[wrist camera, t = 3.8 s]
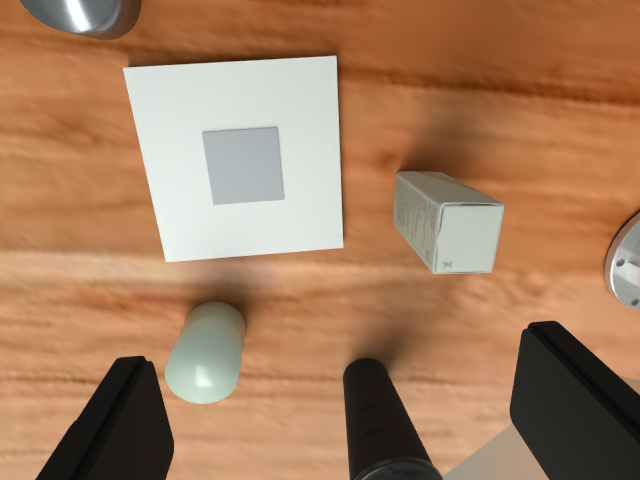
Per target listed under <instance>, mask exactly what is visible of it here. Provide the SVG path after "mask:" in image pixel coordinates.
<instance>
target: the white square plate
mask: <svg viewBox="0 0 640 480" xmlns="http://www.w3.org/2000/svg"><path fill="white" fill-rule="evenodd" d="M123 71H124V75H125V80H126V84H127V89H128V93H129V98H130V102H131V107H132V111H133V116H134V120H135V125H136V129H137V134H138V138H139V142H140V147H141V151H142V156H143V160H144V165H145V169H146V174H147V178H148V183H149V187H150V192H151V196H152V201H153V205H154V210H155V214H156V219H157V223H158V227H159V232H160V236H161V241H162V245H163V250H164V254H165V259H166V262H176V261H188V260H200V259H212V258H225V257H237V256H249V255H261V254H273V253H285V252H297V251H309V250H321V249H333V248H343V226H342V198H341V171H340V143H339V115H338V87H337V59H336V56H324V57H307V58H289V59H271V60H253V61H236V62H218V63H200V64H182V65H164V66H147V67H129V68H123Z"/></svg>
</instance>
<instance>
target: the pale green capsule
mask: <svg viewBox="0 0 640 480" xmlns="http://www.w3.org/2000/svg"><path fill="white" fill-rule="evenodd" d="M245 334H246V323H245V320H244V318H243V316H242V314H241V313H240V312H239V311H238V310H237V309H236V308H234V307H233V306H231V305H229V304H226V303H223V302H206V303H203V304H200V305H198V306H196V307H195V308H194V309H192V310H191V311H190V313H189V314H188V316H187V318H186V320H185V323H184V325H183V327H182V330H181V332H180V334H179V337H178V339H177V341H176V344H175V346H174V349H173V351H172V353H171V356H170V358H169V360H168V363H167V365H166V368H165V379H166V382H167V384H168V386H169V388H170V389H171V390H172V391H173V392H174V393H175V394H176V395H177V396H179V397H180V398H182V399H184V400H186V401H189V402H193V403H201V404H205V403H213V402H217V401H219V400H222V399H224V398H225V397H227V396H228V395H229V394H230V393H231V392H232V391H233V390H234V388H235V387H236V385H237V382H238V377H239V371H240V364H241V358H242V352H243V346H244V340H245Z"/></svg>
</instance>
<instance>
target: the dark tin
mask: <svg viewBox="0 0 640 480" xmlns="http://www.w3.org/2000/svg"><path fill="white" fill-rule="evenodd" d="M20 2H21V3H22V4H23V6H24V7H25V8H26V9H27V10H28V11H29V12H30V13H31V14H32V15H33V16H34V17H35V18H37V19H38V20H39V21H41V22H42V23H44V24H46V25H48V26H50V27H52V28H54V29H57V30H61V31H65V32H69V33H73V34H78V35H82V36H86V37H91V38H95V39H100V40H112V39H116V38H119V37H121V36H123V35H125V34H126V33H128V32H129V31H130V30H131V29H132V28H133V26H134V25H135V23H136V21H137V19H138V16H139V13H140V7H141V0H20Z"/></svg>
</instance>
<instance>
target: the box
mask: <svg viewBox="0 0 640 480" xmlns="http://www.w3.org/2000/svg"><path fill="white" fill-rule="evenodd" d="M503 212H504V204H503V203H501V202H499V201H497V200H495V199H493V198H491V197H489V196H487V195H485V194H483V193H481V192H479V191H477V190H476V189H474V188H472V187H470V186H468V185H466V184H464V183H462V182H460V181H458V180H456V179H454V178H452V177H450V176H448V175H446V174H444V173H442V172H428V171H399V172H397V175H396V183H395V193H394V206H393V225H394V226H395V227H396V228H397V230H398V231H399V232H400V233H401V235H402V236H403V237H404V238H405V240H406V241H407V242H408V243H409V244H410V246H411V247H412V248H413V249H414V251H415V252H416V253H417V254H418V256H419V257H420V258H421V259H422V260H423V262H424V263H425V264H426V265H427V267H428V268H429V269H430V270H431V272H432V273H433V274H462V273H487V272H491V271H492V269H493V265H494V260H495V256H496V251H497V246H498V241H499V235H500V230H501V224H502V218H503Z"/></svg>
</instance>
